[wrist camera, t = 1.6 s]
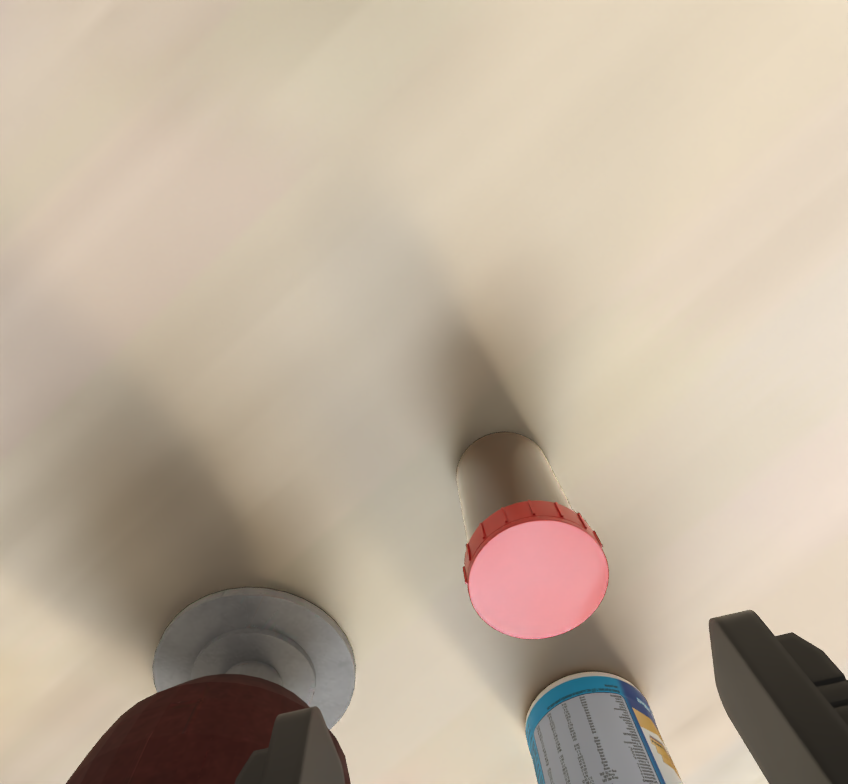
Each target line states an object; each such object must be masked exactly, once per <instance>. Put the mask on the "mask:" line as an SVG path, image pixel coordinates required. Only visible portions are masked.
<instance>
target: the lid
mask: <svg viewBox="0 0 848 784" xmlns="http://www.w3.org/2000/svg"><path fill="white" fill-rule="evenodd" d="M602 547H603V546H602V544H601V542H600V540H599V538H598V536H597V535H596V533H595V531H592V530H591V528H590V526H589V525H588V524H587V522H586V521H585V520H584V519H583V518H582V516H581V514H580V513H578V514H577V513H576V512H574V511H573V510H571V509H569V508H567V507H565V506H563V505H560V504H558V503H557V502H555V503H553V502H548V501H530V500H528V501H524V502H519V503H515V504H512V505H509V506H506V507H504V508H503V507H502V508H501V509H500V510H498V511H496V512H495V513H493V514H492V515H490V516H489V517H488V518H487V519H485V520H484V521H483V522H482V523H480V524H479V526H478V528H477V529H476V530H475V532H474V533H473V535H472V537H471V539H470V540H469V543H468V544H466V553H465V562H464V564H465V566H464V567H463V572H464V578H465V584H467V586H468V592H469V596H470V600H471V602H472V605H473V607H474V609H475V610H476V612H477V614H478V615H479V616H480V617H481V618H482V620H484V621H485V622H486V623H487V624H488V625H489V626H491V627H492V628H494V629H495V630H497V631H499V632H501V633H503V634H506V635H509V636H512V637H516V638H522V639H543V638H549V637H554V636H557V635H560V634H563V633H565V632H568V631H570V630H572V629H574V628H575V627H577V626H579V625H580V624H581V623H583V622H584V621H585V620H586V619H588V618H589V617H590V616H591V615H592V614H593V612H594V611H595V610H596V609H597V608H598V606H599V604H600V603H601V601H602V599H603V597H604V595H605V592H606V589H607V586H608V579H609V569H608V563H607V559H606V556H605V554H604V552H603V550H602Z"/></svg>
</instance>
